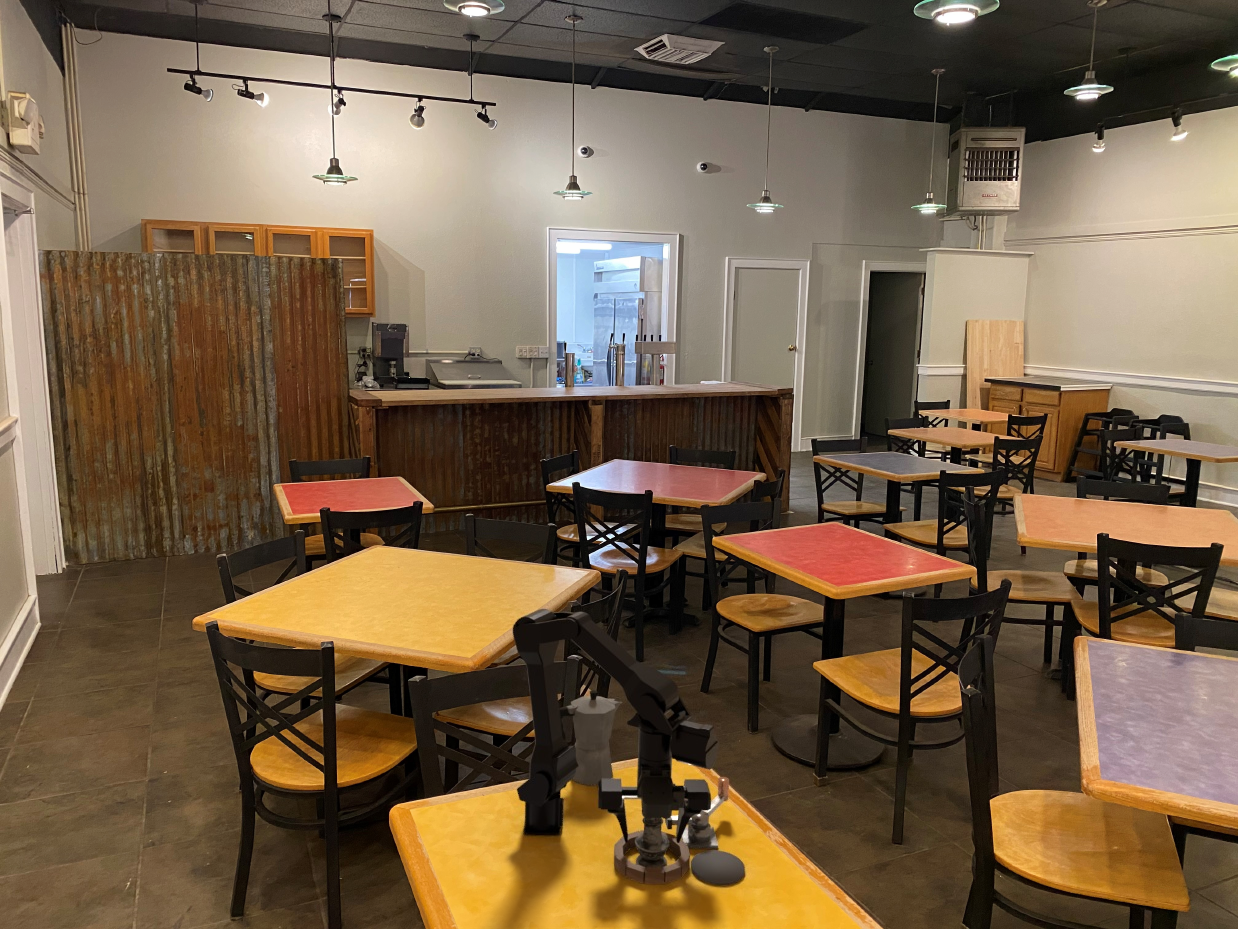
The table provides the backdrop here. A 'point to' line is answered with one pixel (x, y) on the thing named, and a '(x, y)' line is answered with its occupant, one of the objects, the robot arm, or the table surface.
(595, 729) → the coffeepot
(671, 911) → the table surface
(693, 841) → the pivot block
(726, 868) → the pad
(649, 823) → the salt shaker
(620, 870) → the socket ring
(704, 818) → the clamp
